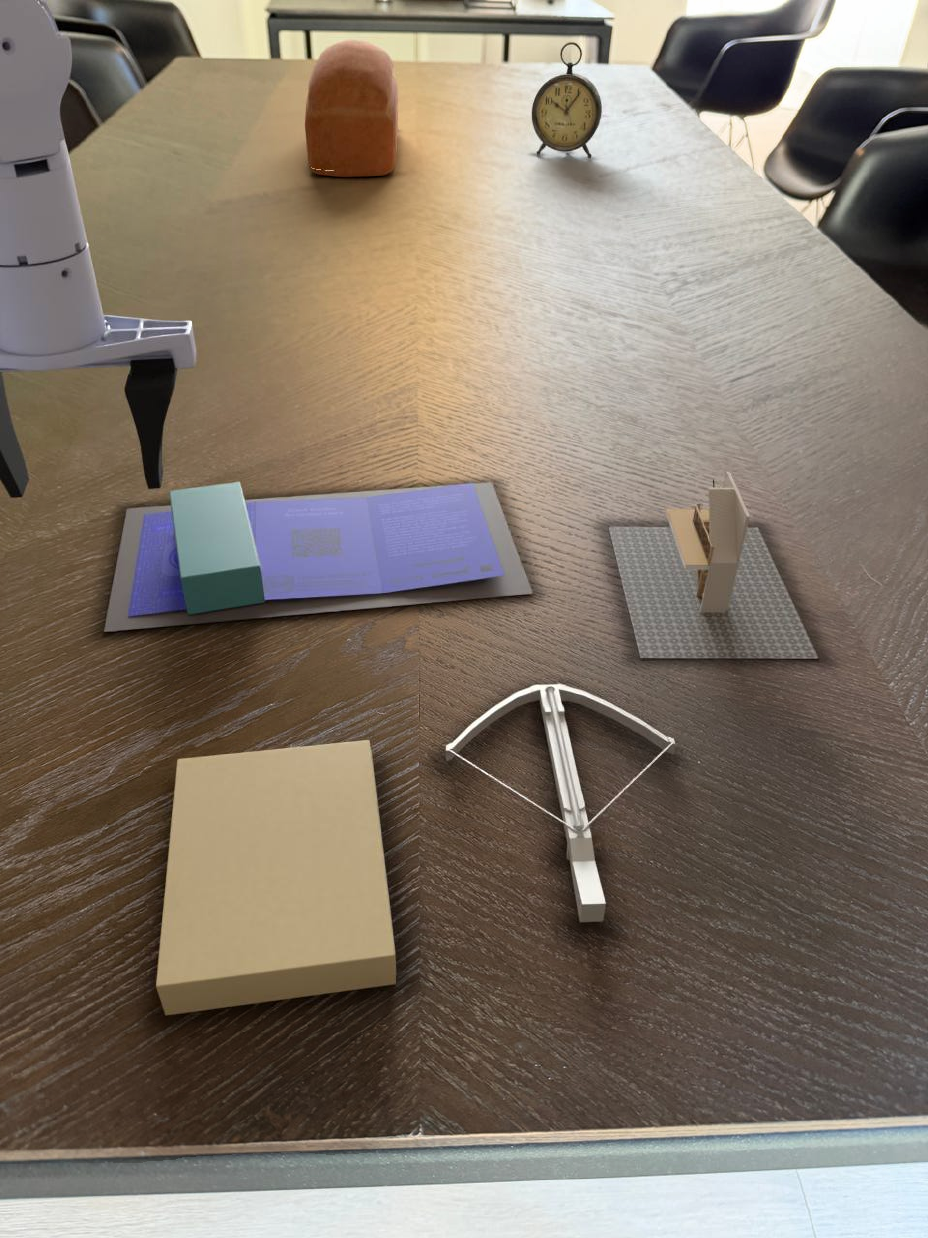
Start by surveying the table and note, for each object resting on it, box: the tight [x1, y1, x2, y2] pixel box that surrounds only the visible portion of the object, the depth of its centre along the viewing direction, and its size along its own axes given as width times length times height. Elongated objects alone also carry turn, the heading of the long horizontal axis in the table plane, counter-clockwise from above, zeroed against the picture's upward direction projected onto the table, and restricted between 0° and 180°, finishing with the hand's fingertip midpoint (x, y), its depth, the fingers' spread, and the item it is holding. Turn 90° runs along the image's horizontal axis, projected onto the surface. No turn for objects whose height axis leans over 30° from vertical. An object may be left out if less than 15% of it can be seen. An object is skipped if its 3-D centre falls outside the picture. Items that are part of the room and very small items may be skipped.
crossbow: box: [445, 683, 676, 923], centre depth 51 cm, size 16×13×2 cm
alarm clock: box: [531, 41, 603, 159], centre depth 155 cm, size 11×5×16 cm, turn 77°
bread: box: [304, 39, 399, 178], centre depth 154 cm, size 14×33×16 cm, turn 2°
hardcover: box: [155, 739, 397, 1016], centre depth 47 cm, size 10×13×2 cm
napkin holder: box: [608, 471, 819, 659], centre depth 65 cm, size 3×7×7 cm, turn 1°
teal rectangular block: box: [168, 481, 265, 615], centre depth 67 cm, size 5×11×3 cm, turn 17°
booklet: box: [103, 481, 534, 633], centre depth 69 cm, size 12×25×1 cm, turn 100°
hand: (88, 484), depth 57 cm, fingers open, 7 cm apart
